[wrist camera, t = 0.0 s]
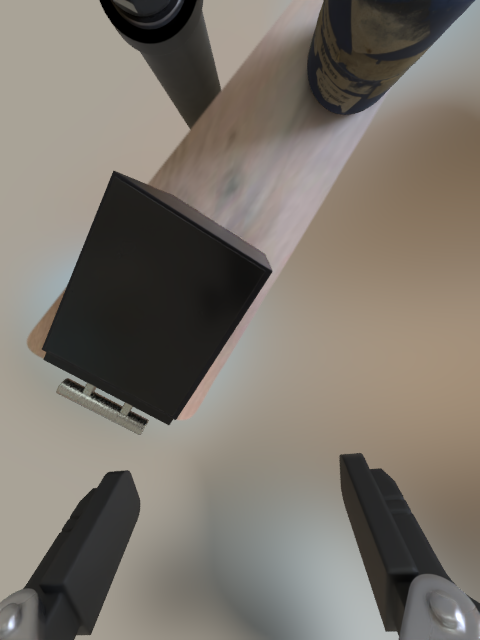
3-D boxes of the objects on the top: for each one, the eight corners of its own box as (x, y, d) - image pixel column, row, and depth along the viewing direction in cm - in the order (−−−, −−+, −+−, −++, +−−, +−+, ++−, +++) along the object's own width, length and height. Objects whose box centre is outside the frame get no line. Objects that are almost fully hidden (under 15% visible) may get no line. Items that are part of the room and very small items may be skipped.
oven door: (185, 378, 40) (151, 452, 27) (107, 335, 39) (30, 390, 25) (201, 353, 39) (173, 418, 26) (120, 307, 37) (46, 351, 24)
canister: (288, 92, 31) (329, -72, 14) (335, -8, 28) (456, -363, 11) (359, 135, 32) (477, 30, 15) (411, 43, 29) (629, -214, 12)
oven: (207, 344, 42) (173, 425, 24) (129, 299, 40) (35, 352, 23) (264, 252, 37) (273, 272, 20) (179, 197, 35) (108, 168, 18)
